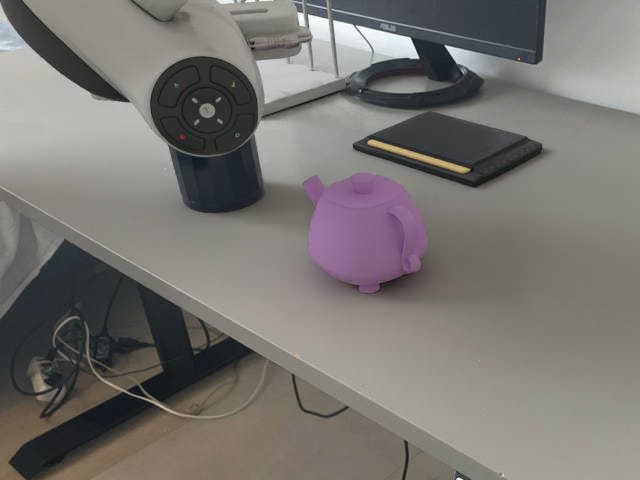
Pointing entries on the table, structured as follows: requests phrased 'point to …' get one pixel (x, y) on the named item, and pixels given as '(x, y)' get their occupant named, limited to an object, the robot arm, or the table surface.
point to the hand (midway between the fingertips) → (183, 15)
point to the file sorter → (298, 75)
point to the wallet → (450, 147)
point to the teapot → (365, 230)
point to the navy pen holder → (220, 179)
